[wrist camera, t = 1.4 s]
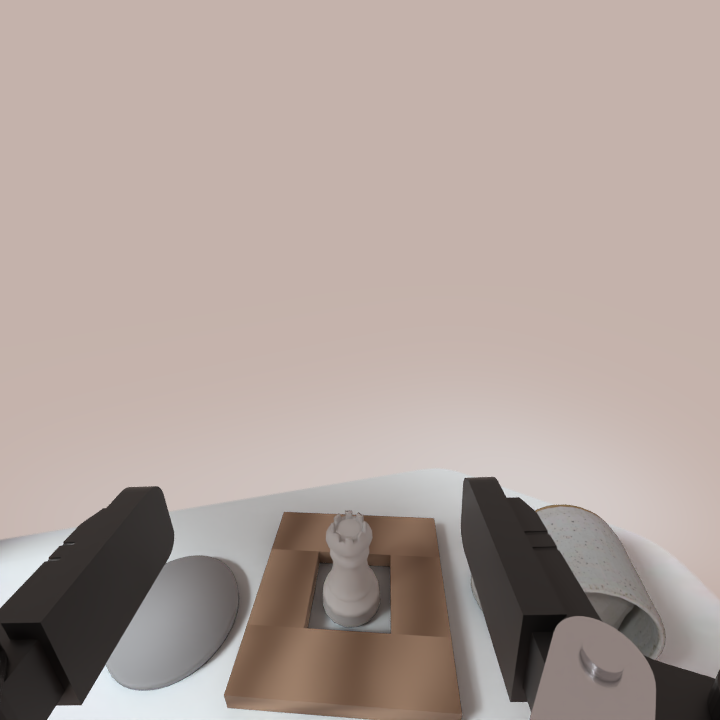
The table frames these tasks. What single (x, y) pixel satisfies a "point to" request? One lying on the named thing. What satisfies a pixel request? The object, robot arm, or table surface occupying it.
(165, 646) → the slate-grey pad
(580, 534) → the ceramic mug
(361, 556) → the rook chess piece
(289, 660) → the walnut frame
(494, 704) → the table surface
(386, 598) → the table surface
